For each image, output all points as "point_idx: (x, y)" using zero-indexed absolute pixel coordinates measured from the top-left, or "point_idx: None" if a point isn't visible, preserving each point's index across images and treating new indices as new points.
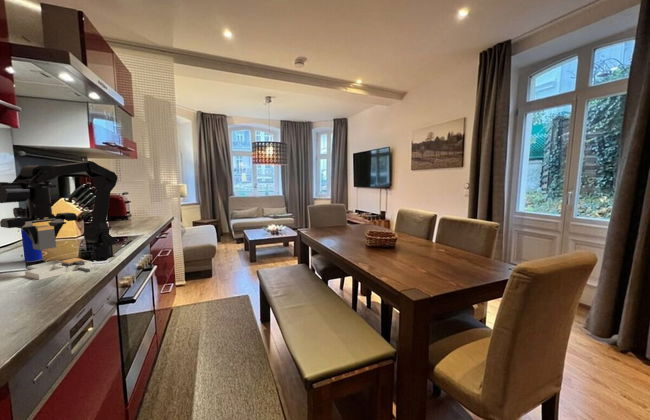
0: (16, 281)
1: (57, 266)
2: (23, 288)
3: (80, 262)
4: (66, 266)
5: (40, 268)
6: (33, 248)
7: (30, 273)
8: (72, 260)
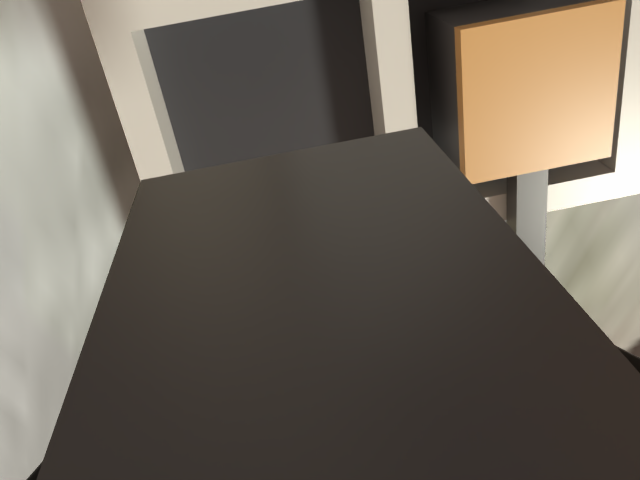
0: (18, 100)
1: (380, 85)
2: (67, 362)
3: (535, 245)
4: (443, 121)
5: (234, 9)
6: (144, 193)
7: (126, 126)
8: (531, 131)
